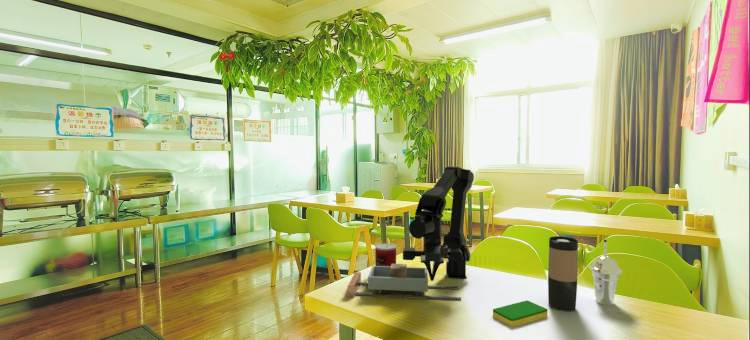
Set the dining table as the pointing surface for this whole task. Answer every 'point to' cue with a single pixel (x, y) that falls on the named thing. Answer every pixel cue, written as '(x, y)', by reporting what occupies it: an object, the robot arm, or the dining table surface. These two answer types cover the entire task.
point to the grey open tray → (398, 280)
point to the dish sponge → (519, 313)
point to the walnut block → (398, 270)
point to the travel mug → (562, 273)
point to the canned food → (385, 254)
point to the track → (357, 282)
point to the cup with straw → (605, 277)
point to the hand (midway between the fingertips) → (431, 280)
